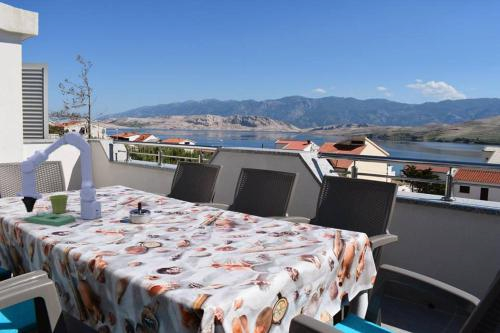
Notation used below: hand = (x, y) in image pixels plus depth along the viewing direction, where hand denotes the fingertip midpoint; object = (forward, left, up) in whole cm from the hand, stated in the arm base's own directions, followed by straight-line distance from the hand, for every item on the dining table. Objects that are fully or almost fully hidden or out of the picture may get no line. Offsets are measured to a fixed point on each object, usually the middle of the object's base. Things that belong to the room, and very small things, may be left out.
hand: (29, 212), depth 195 cm
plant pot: (-2, -16, -4) cm, 17 cm away
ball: (-7, 0, 0) cm, 7 cm away
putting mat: (-13, 0, -3) cm, 13 cm away
